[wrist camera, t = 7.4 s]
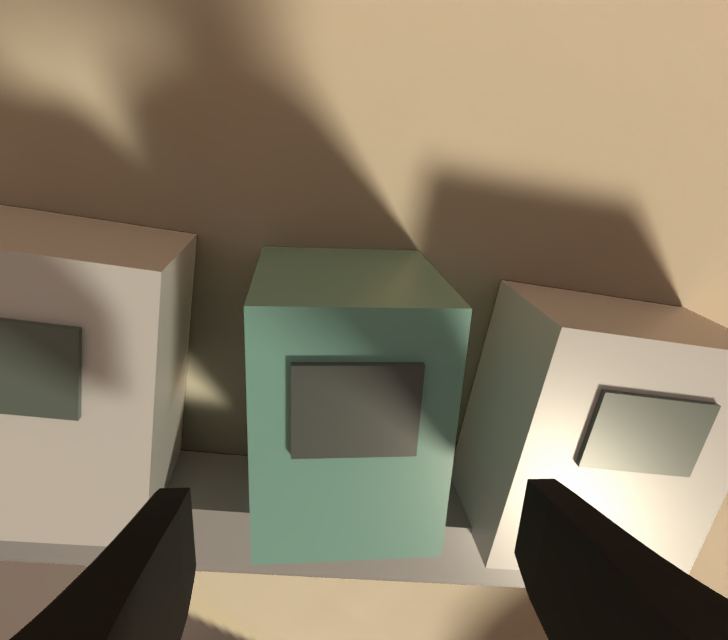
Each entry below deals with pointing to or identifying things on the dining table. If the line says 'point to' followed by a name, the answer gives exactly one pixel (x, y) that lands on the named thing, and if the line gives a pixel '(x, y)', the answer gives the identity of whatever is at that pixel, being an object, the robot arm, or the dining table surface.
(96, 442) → the rail mount
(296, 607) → the dining table surface
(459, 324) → the block
